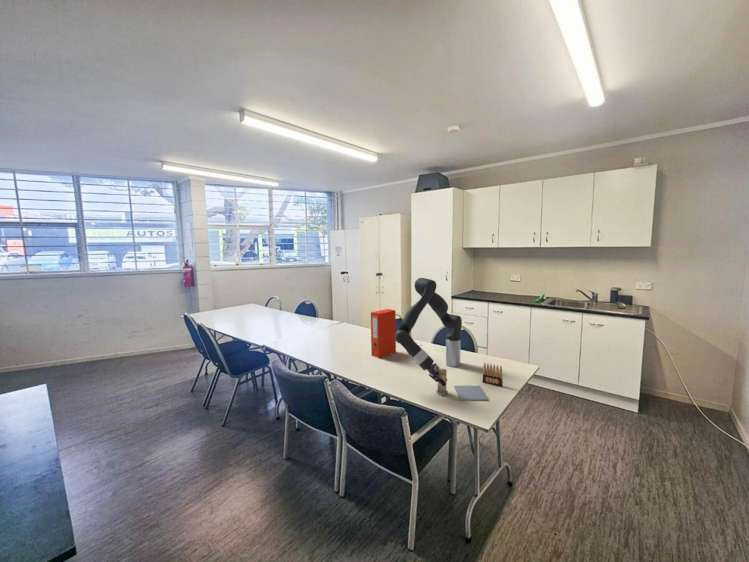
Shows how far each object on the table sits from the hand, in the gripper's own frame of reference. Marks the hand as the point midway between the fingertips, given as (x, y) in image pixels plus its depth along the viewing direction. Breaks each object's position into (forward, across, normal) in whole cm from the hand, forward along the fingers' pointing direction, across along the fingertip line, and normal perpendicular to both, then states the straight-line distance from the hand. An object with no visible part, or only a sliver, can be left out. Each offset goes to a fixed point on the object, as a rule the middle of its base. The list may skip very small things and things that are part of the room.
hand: (445, 383), depth 169 cm
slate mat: (+13, +4, -5) cm, 14 cm away
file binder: (-30, +52, +39) cm, 71 cm away
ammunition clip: (+22, +18, -13) cm, 31 cm away
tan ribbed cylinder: (+3, 0, +6) cm, 6 cm away
